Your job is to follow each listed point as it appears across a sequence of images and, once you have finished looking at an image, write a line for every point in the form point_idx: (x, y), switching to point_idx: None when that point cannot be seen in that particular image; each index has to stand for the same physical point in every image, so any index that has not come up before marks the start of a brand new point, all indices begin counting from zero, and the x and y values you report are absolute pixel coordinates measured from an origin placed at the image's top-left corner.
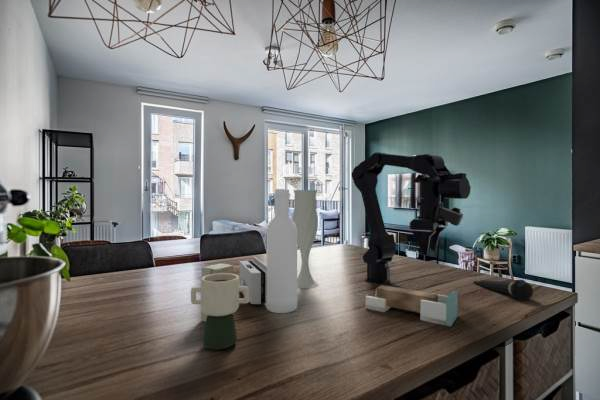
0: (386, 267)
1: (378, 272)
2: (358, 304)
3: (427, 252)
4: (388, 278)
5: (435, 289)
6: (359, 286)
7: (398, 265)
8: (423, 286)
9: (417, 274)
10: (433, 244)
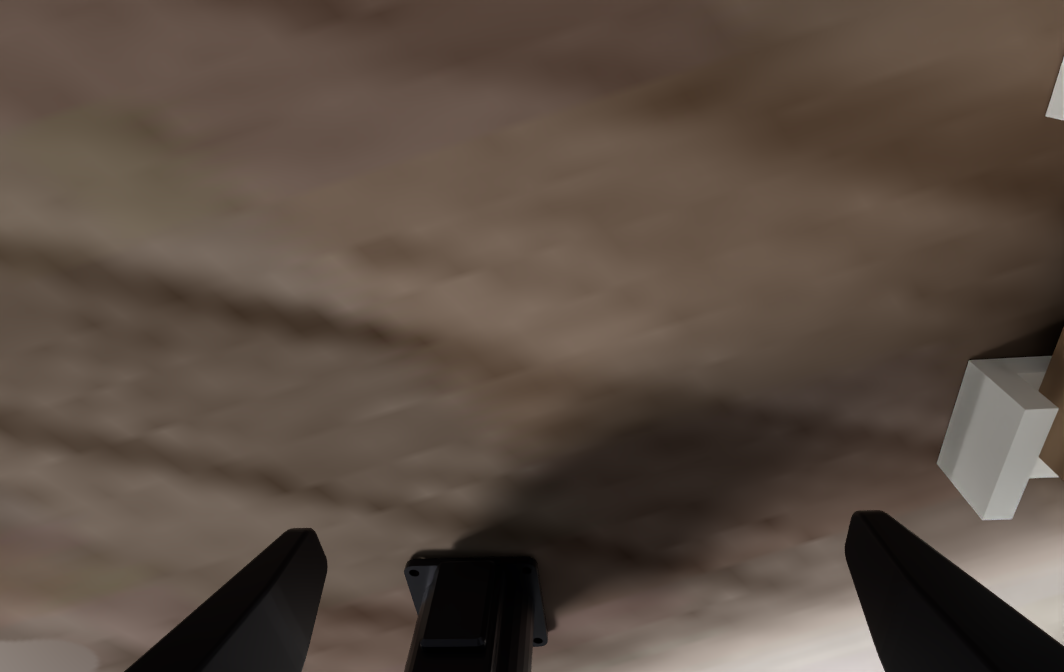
0: (456, 652)
1: (520, 644)
2: (1061, 507)
3: (916, 541)
4: (462, 569)
5: (390, 269)
6: (675, 617)
7: (17, 630)
8: (381, 362)
9: (106, 488)
10: (272, 643)
